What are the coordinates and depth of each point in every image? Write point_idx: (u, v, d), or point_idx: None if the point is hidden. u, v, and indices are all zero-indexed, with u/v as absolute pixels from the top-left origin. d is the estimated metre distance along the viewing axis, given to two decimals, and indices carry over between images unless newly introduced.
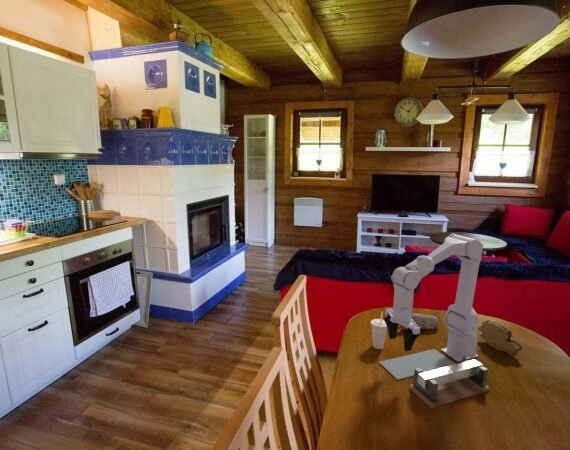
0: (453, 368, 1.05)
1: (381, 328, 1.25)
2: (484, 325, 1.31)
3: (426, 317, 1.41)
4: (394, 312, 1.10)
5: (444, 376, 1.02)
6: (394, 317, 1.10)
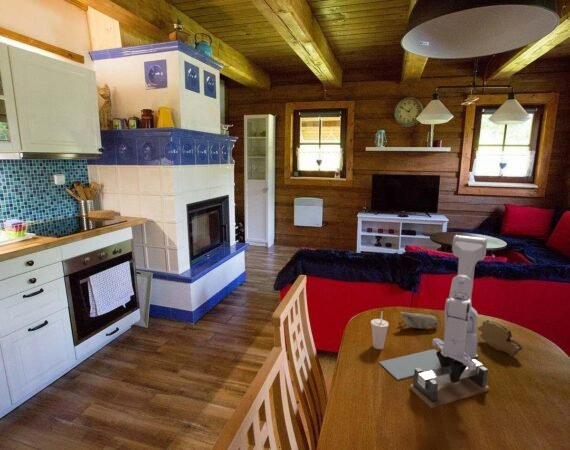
0: None
1: (381, 328, 1.25)
2: (484, 325, 1.31)
3: (425, 317, 1.41)
4: (445, 345, 1.02)
5: (444, 376, 1.02)
6: (445, 350, 1.02)
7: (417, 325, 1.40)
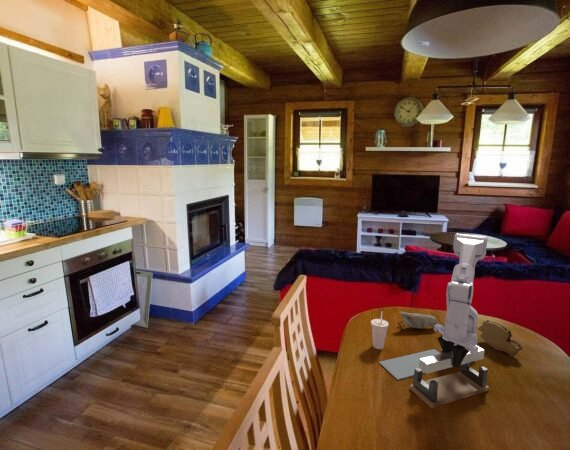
0: None
1: (381, 328, 1.25)
2: (484, 325, 1.31)
3: (425, 317, 1.41)
4: (447, 329, 1.01)
5: (446, 361, 1.01)
6: (447, 335, 1.01)
7: (416, 325, 1.40)
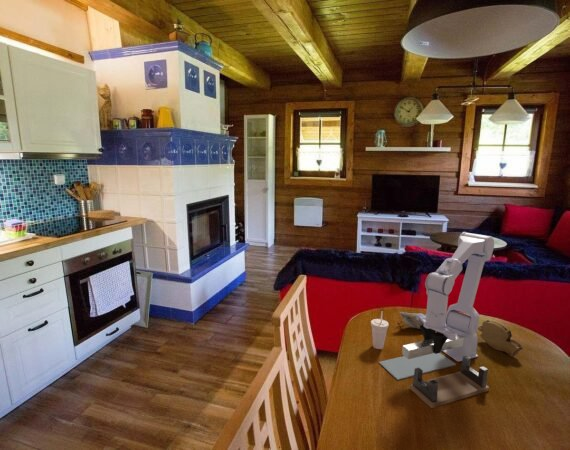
0: None
1: (381, 328, 1.25)
2: (484, 325, 1.31)
3: None
4: (428, 318, 1.08)
5: (427, 348, 1.08)
6: (428, 323, 1.09)
7: (416, 325, 1.40)
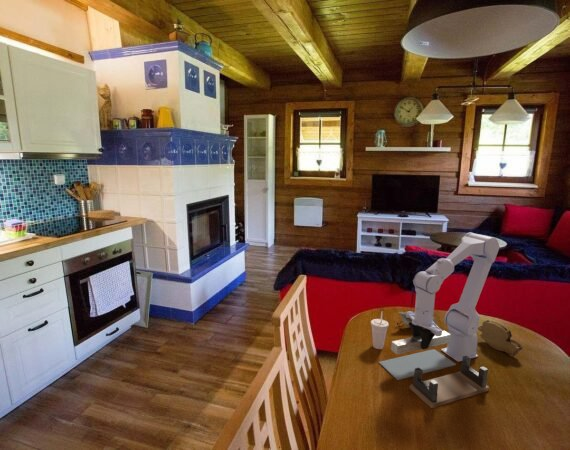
0: None
1: (381, 328, 1.25)
2: (484, 325, 1.31)
3: None
4: (416, 315, 1.13)
5: (415, 344, 1.13)
6: (416, 320, 1.14)
7: None
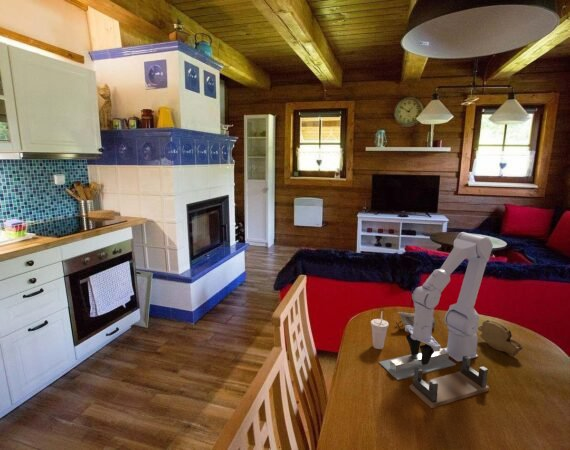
0: None
1: (381, 328, 1.25)
2: (484, 325, 1.31)
3: None
4: (414, 329, 1.15)
5: (413, 363, 1.15)
6: (414, 334, 1.15)
7: None
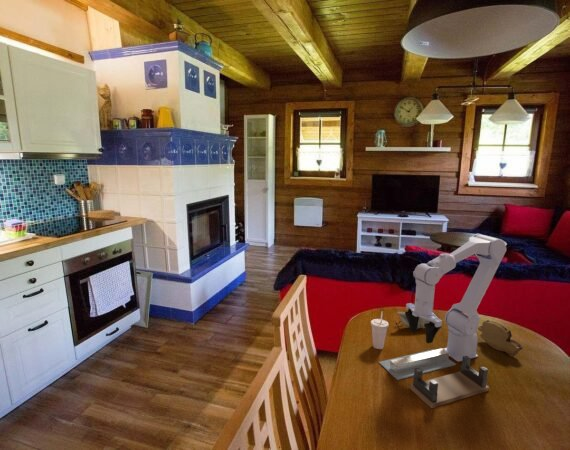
0: (422, 356, 1.17)
1: (381, 328, 1.25)
2: (484, 325, 1.31)
3: None
4: (416, 306, 1.15)
5: (413, 363, 1.15)
6: (416, 311, 1.16)
7: None
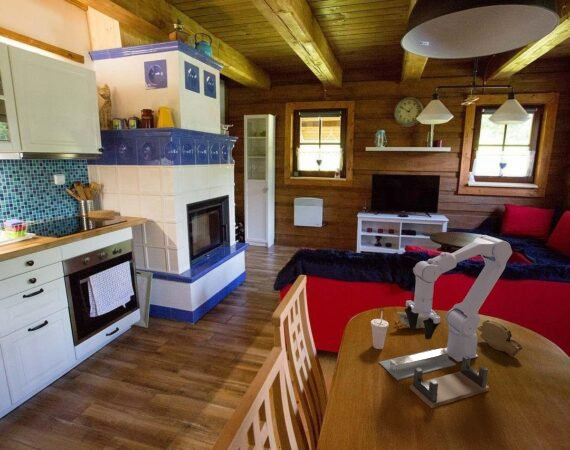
0: (422, 356, 1.17)
1: (381, 328, 1.25)
2: (484, 325, 1.31)
3: (422, 317, 1.41)
4: (415, 303, 1.18)
5: (413, 363, 1.15)
6: (415, 308, 1.18)
7: None
